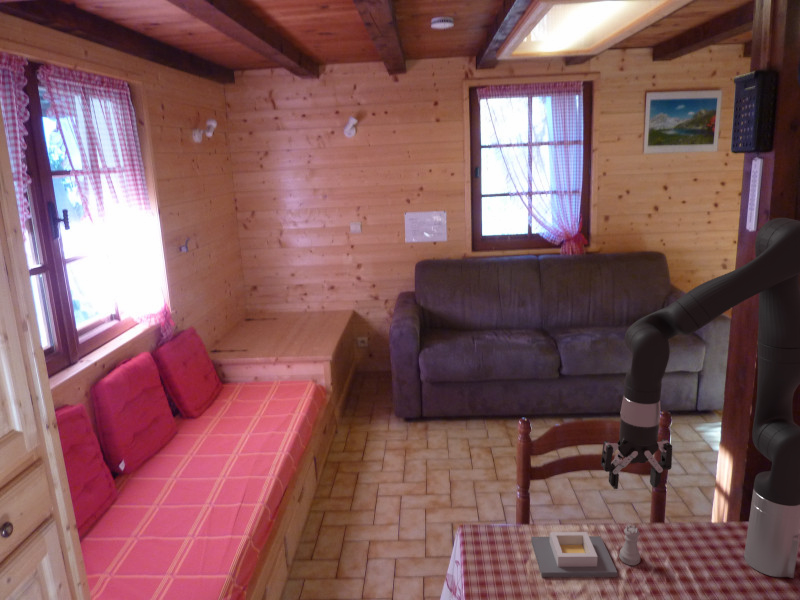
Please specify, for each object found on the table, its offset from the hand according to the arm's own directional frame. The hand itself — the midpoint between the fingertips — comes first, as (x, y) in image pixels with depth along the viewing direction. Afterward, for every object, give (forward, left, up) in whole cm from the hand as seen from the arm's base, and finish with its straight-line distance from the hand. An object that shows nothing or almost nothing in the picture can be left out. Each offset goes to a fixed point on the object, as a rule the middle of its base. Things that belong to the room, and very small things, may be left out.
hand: (633, 486), depth 127 cm
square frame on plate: (+11, +6, -18) cm, 22 cm away
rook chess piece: (0, 0, -19) cm, 19 cm away
